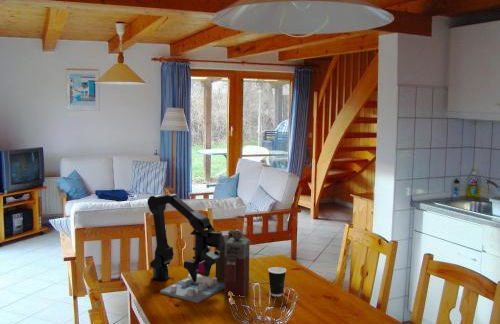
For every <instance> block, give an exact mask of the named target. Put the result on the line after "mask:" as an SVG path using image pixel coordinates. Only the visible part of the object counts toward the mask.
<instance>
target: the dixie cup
mask: <svg viewBox="0 0 500 324" xmlns="http://www.w3.org/2000/svg"><path fill="white" fill-rule="evenodd" d="M267 271H268V279H269V289H270V290H269V291H270V295H271V296H272V297H276V296H277V298H278V297H282V296H283V293H284V288H285V287H284V286H285V279H286V272H287V269H286V268H285V267H280V266H279V267H278V266H275V267H273V266H272V267H269V268H268V269H267Z"/></svg>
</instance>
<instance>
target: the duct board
mask: <svg viewBox="0 0 500 324" xmlns="http://www.w3.org/2000/svg"><path fill="white" fill-rule="evenodd" d="M197 275H202V273H197ZM212 278H214V285H213V286H212V287H208V286H207V283H206V282H203V283H201V284H195V283H191V279H188V278H187V277H186V278H184V279H182V280H180V281H177V282H176V283H174V284H172V285H169V286H167V287H165V288H163V289H160V290H159V292H160V293H159V294H162V295H166V296H170V297H174V298H178V299H182V300H186V301H189V302H192V303H197V304H198V303H201V302H202V301H204V300H205V299H208V298H209V297H212V296H213V295H214V294H217V293H219V292H220V291H223V290H224V289H225V282H218V278H217V277H216V276H215V277H212Z"/></svg>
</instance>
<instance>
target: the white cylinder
mask: <svg viewBox="0 0 500 324" xmlns="http://www.w3.org/2000/svg"><path fill="white" fill-rule="evenodd" d="M186 278H188V279H191V283H195V284H201V283H203V282H206V283H207V286H208V287H212V286H213V285H214V278H213V277H210V276H206V275H202V274H201V275H197V279H196V282H194V281H193V279H192V277H191V275H190V273H188V274H187V277H186Z"/></svg>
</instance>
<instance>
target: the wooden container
mask: <svg viewBox="0 0 500 324" xmlns="http://www.w3.org/2000/svg"><path fill="white" fill-rule="evenodd" d="M234 231H235V230H232V229H231V230H229V231H228V233H227V234H226V235H223V237H224V245H223V247H222V248H216V247H215V249H216V250H215V251H217V250H218V251H219V252H220V259H218V262H217V263H215V278H217V279H220V280H223V281H225V243H226V242H227V241H228V240H229V239H230V238H233V237H232V233H233V232H234ZM242 239H248V238H247V237H245V236H242Z"/></svg>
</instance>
